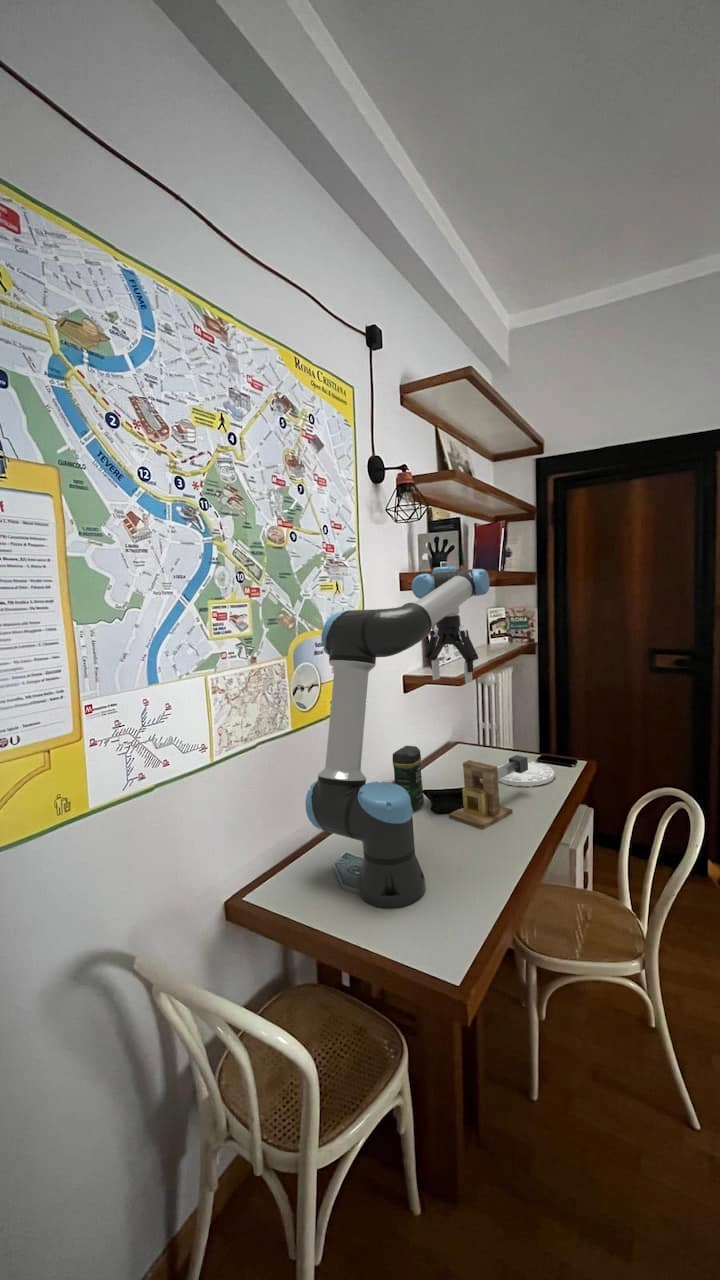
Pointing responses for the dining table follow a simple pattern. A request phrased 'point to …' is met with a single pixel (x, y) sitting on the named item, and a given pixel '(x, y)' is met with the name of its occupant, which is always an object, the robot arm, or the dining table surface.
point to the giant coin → (529, 776)
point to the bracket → (489, 786)
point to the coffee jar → (409, 773)
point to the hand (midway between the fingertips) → (452, 681)
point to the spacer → (482, 802)
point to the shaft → (510, 768)
